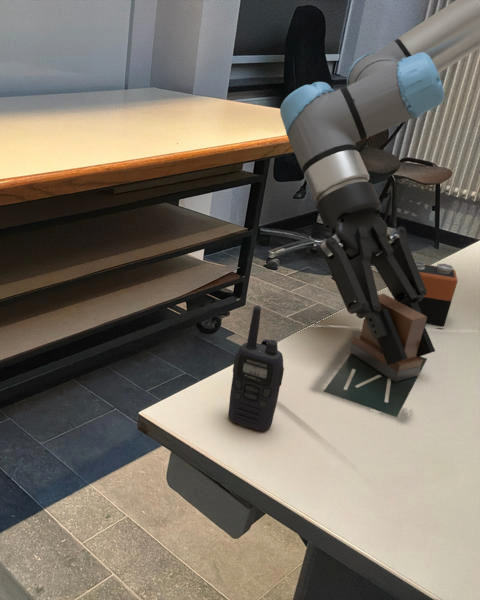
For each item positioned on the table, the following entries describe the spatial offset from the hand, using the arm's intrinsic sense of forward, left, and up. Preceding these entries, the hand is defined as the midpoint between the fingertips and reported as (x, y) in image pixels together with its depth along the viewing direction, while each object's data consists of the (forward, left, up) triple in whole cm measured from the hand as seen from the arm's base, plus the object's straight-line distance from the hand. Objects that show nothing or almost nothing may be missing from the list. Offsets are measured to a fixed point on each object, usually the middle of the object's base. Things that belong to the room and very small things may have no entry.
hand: (411, 357), depth 85 cm
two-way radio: (+21, +8, -5) cm, 23 cm away
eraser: (+2, -3, -3) cm, 5 cm away
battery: (-9, -17, -5) cm, 20 cm away
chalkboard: (+3, -1, -4) cm, 5 cm away
